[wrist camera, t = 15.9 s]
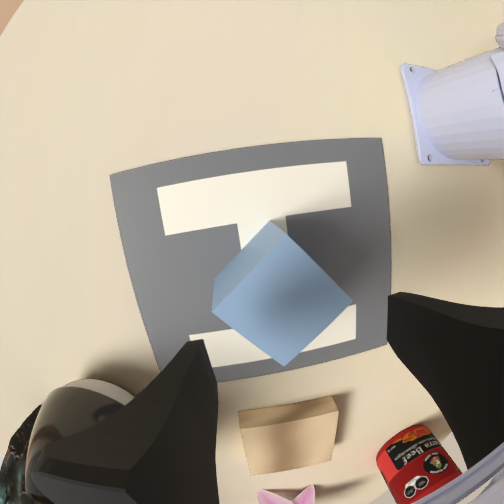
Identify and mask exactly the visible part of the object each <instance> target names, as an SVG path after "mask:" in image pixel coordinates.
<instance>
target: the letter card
mask: <svg viewBox="0 0 504 504" xmlns="http://www.w3.org/2000/svg"><path fill="white" fill-rule="evenodd" d="M110 181H111V188H112V194H113V200H114V206H115V211H116V216H117V222H118V227H119V231H120V236H121V241H122V245H123V250H124V254H125V258H126V262H127V266H128V270H129V274H130V278H131V282H132V286H133V289H134V293H135V296H136V300H137V303H138V307H139V310H140V313H141V316H142V320H143V323H144V326H145V329H146V332H147V335H148V338H149V341H150V344H151V347H152V350H153V352H154V355H155V358H156V361H157V363H158V366H159V369H160V371H161V372H162V370H163V369H164V368H165V367H166V366H167V365H168V363H169V362H170V361H171V360H172V359H173V358H174V356H175V355H176V354H177V353H178V351H179V350H180V349H181V348H182V347H183V345H184V344H185V343H186V342H187V341H193V340H199V339H203V340H204V343H205V346H206V350H207V353H208V356H209V359H210V362H211V365H212V368H213V371H214V374H215V377H216V380H217V382H224V381H231V380H238V379H244V378H251V377H257V376H262V375H268V374H273V373H279V372H284V371H289V370H293V369H298V368H303V367H307V366H311V365H316V364H320V363H324V362H328V361H332V360H336V359H339V358H343V357H347V356H350V355H354V354H357V353H361V352H364V351H368V350H371V349H374V348H377V347H380V346H384V345H387V315H388V296H389V295H390V292H391V238H390V216H389V201H388V189H387V179H386V170H385V162H384V154H383V147H382V140H381V138H351V139H328V140H313V141H300V142H289V143H279V144H269V145H261V146H253V147H245V148H238V149H231V150H225V151H218V152H212V153H206V154H201V155H195V156H190V157H185V158H180V159H175V160H170V161H165V162H160V163H156V164H151V165H147V166H143V167H139V168H135V169H131V170H127V171H123V172H119V173H115V174H111V175H110ZM269 220H270V221H271V222H272V223H274V224H275V225H276V226H277V227H279V228H280V229H281V230H282V231H283V232H285V233H286V234H287V235H288V236H289V237H290V238H291V239H292V240H293V241H294V242H295V243H296V244H297V245H298V246H299V247H300V248H301V249H302V250H303V251H304V252H305V253H306V254H307V255H308V256H309V257H310V258H311V259H312V260H313V261H314V262H315V263H316V264H317V265H318V266H319V267H320V268H321V269H322V270H323V271H324V272H325V273H326V274H327V275H328V276H329V277H330V278H331V279H332V280H333V281H334V282H335V283H336V284H337V285H338V286H339V287H340V288H341V289H342V290H343V291H344V292H345V293H346V294H347V295H348V296H349V297H350V298H351V299H352V300H353V302H352V303H351V304H350V305H349V306H348V307H347V308H346V309H345V310H344V311H343V312H342V313H341V314H340V315H339V316H338V317H337V318H336V319H335V320H334V321H333V322H332V323H331V324H330V325H329V326H328V327H327V328H326V329H325V330H324V331H323V332H322V333H320V334H319V335H318V336H317V337H316V338H315V339H314V340H313V341H312V342H311V343H310V344H309V345H308V346H307V347H305V348H304V349H303V350H302V351H301V352H300V353H299V354H298V355H297V356H296V357H294V358H293V359H292V360H291V361H290V362H289V363H288V364H286V365H285V366H283V365H281V364H280V363H278V362H277V361H276V360H274V359H273V358H271V357H270V356H269V355H267V354H266V353H265V352H263V351H262V350H260V349H259V348H258V347H256V346H255V345H254V344H252V343H251V342H250V341H248V340H247V339H246V338H244V337H243V336H242V335H240V334H239V333H238V332H237V331H235V330H234V329H233V328H231V327H230V326H229V325H228V324H226V323H225V322H224V321H222V320H221V319H220V318H219V317H217V316H216V315H215V314H214V313H212V312H211V311H212V300H213V290H214V280H215V277H216V276H217V275H218V274H219V273H220V272H221V271H222V270H223V269H224V268H225V267H226V266H227V265H228V264H229V263H230V261H231V260H232V259H233V258H234V257H235V256H236V255H237V254H238V253H239V252H240V251H241V250H242V249H243V248H244V247H245V246H246V245H247V244H248V242H249V241H250V240H251V239H252V238H253V237H254V236H255V235H256V234H257V233H258V232H259V231H260V230H261V229H262V228H263V227H264V226H265V225H266V224H267V223H268V221H269Z"/></svg>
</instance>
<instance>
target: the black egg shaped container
mask: <svg viewBox="0 0 504 504" xmlns="http://www.w3.org/2000/svg"><path fill="white" fill-rule="evenodd" d="M134 398H135V397H134V396H133V395H131V394H130V393H129V392H127V391H126V390H124V389H122V388H120V387H118V386H116V385H114V384H112V383H109V382H105V381H101V380H96V379H82V380H77V381H73V382H71V383H68V384H66V385H65V386H63V387H60V388H57V389H55V390H53V391H52V392H51V393H50V394H49V395H48V397H47V398H46V399H45V401H44V403H43V405H42V407H41V409H40V411H39V413H38V416H37V418H36V421H35V424H34V426H33V429H32V433H31V436H30V440H29V445H28V450H27V456H26V464H25V492H22V493H20V495H19V501H20V503H21V504H54V503H53V502H52V501H51V500H50V499H48V498H47V497H46V496H45V495H44V494H43V493H42V492H41V491H40V490H39V489H38V488H37V487H36V486H35V484H34V483H33V481H32V478H31V473H32V471H33V469H34V467H35V465H36V463H37V461H38V459H39V457H40V455H41V453H42V451H43V449H44V447H45V445H46V444H48V443H52V442H55V441H57V440H60V439H63V438H66V437H69V436H71V435H74V434H76V433H78V432H81V431H83V430H85V429H87V428H89V427H91V426H93V425H95V424H97V423H98V422H100V421H102V420H104V419H105V418H107V417H108V416H110V415H111V414H113V413H114V412H116V411H117V410H119V409H120V408H122V407H123V406H125V405H126V404H127V403H129V402H130V401H131V400H132V399H134Z"/></svg>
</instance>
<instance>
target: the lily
mask: <svg viewBox="0 0 504 504" xmlns="http://www.w3.org/2000/svg"><path fill="white" fill-rule="evenodd" d="M257 494H258V500H259V504H315V489H314V486H313V485H309V486H308V487H307V488H306V489H304V490H303V491H302V492H301V493H300V494H299V495H298V496H297V497H296V498H295V499H294V500H293V501H290V500H288V499H286V498H283V497H281V496H279V495H276V494H274V493H272V492H269V491H266V490H258V492H257Z"/></svg>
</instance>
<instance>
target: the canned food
mask: <svg viewBox="0 0 504 504" xmlns="http://www.w3.org/2000/svg"><path fill="white" fill-rule="evenodd" d="M376 461H377V466H378V468H379V470H380V472H381V474H382V476H383V478H384V480H385V482H386V484H387V486H388V488H389V490H390V492H391V494H392V495H393V497H394V499H395V501H396V503H397V504H412V503H414V502H415V501H417V500H419V499H421V498H423V497H425V496H427V495H429V494H430V493H432V492H434V491H436V490H437V489H439V488H441V487H442V486H444V485H446V484H447V483H449V482H451V481H452V480H454V479H455V478H457V477H458V476H460V475H461V474H462V472H461V471H460V469H459V468H458V467H457V466H456V464H455V463H454V461H453V460H452V459H451V457H450V456H449V455H448V453H447V452H446V451H445V450H444V448H443V447H442V445H441V444H440V443H439V441H438V440H437V439H436V437H435V436H434V435H433V434H432V432H431V431H430V430H429V429H428V428H427V427H425V426H423V425H415V426H412V427H409V428H407V429H405V430H403V431H401V432H400V433H398V434H397V435H395V436H394V437H392V438H391V439H390V440H389V441H388V442H387V443H386V444H384V446H383V447H382V448H381V449H380V451H379V452H378V454H377V457H376Z"/></svg>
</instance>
